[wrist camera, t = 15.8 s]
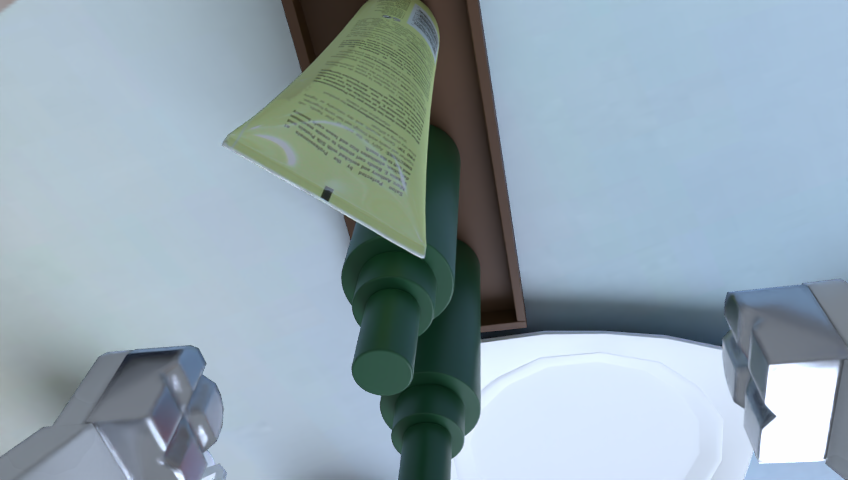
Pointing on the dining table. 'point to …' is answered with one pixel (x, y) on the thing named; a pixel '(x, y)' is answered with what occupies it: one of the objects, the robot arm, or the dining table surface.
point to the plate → (603, 410)
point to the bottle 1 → (404, 279)
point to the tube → (358, 122)
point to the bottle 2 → (441, 382)
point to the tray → (467, 126)
